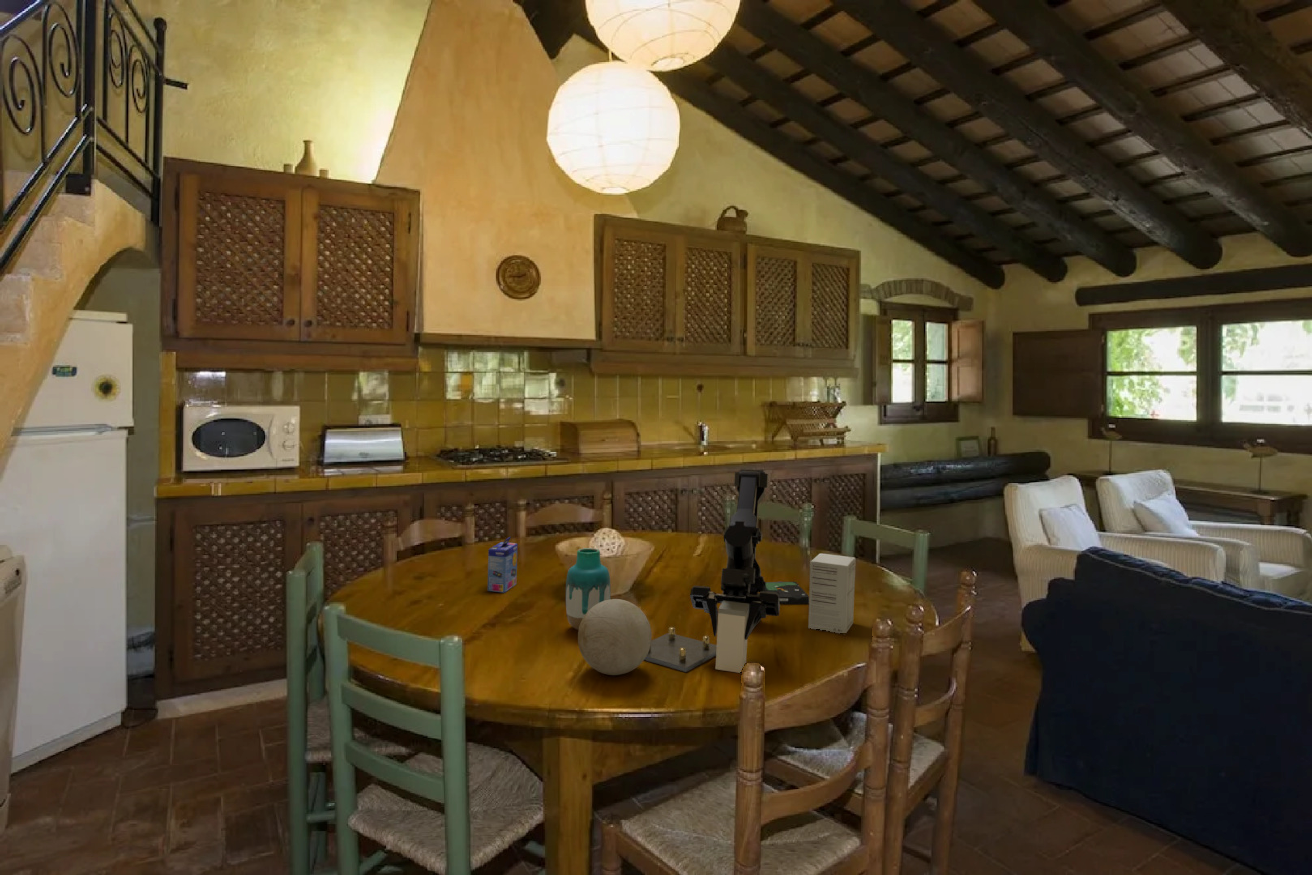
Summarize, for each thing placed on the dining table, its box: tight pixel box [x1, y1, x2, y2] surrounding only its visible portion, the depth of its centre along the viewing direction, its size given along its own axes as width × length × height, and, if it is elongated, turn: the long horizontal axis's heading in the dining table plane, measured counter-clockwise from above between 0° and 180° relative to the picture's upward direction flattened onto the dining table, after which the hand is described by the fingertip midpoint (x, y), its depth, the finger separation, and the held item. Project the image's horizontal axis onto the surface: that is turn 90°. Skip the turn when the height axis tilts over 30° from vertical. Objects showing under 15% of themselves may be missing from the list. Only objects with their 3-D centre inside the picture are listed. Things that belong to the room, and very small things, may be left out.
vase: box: [565, 547, 611, 631], centre depth 180 cm, size 11×11×19 cm
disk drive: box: [765, 581, 809, 606], centre depth 210 cm, size 10×3×15 cm
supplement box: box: [807, 553, 856, 634], centre depth 185 cm, size 10×9×17 cm
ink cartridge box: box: [487, 536, 518, 594], centre depth 214 cm, size 10×6×14 cm, turn 170°
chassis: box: [643, 626, 717, 673], centre depth 166 cm, size 15×15×4 cm
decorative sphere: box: [577, 598, 652, 676], centre depth 154 cm, size 15×15×15 cm
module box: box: [715, 600, 749, 674], centre depth 158 cm, size 6×6×13 cm
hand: (730, 637), depth 157 cm, fingers closed on module box, 6 cm apart
